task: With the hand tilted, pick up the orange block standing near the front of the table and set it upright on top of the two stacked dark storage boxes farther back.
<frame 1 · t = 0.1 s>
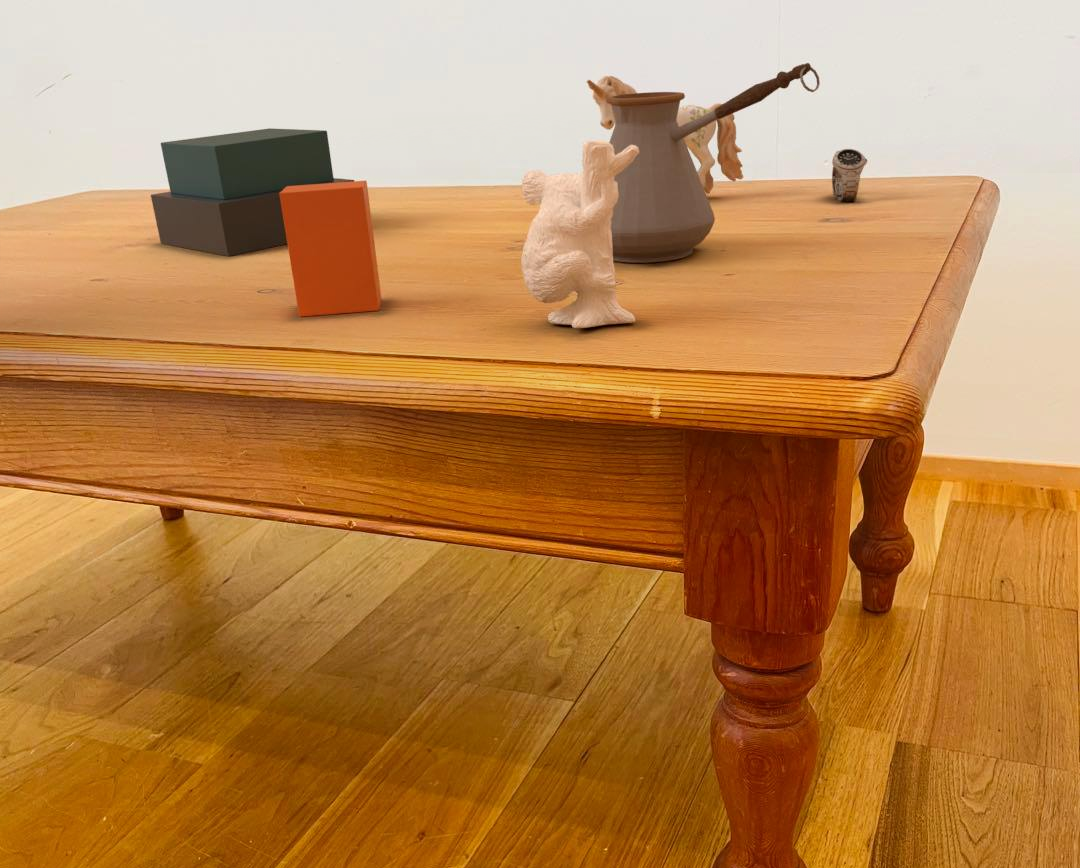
box stack: (260, 235, 115), on the table
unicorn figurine: (665, 209, 115), on the table
wristwatch: (844, 200, 113), on the table
koala figurine: (585, 326, 74), on the table
orange block: (341, 308, 83), on the table
coffee pot: (694, 261, 91), on the table
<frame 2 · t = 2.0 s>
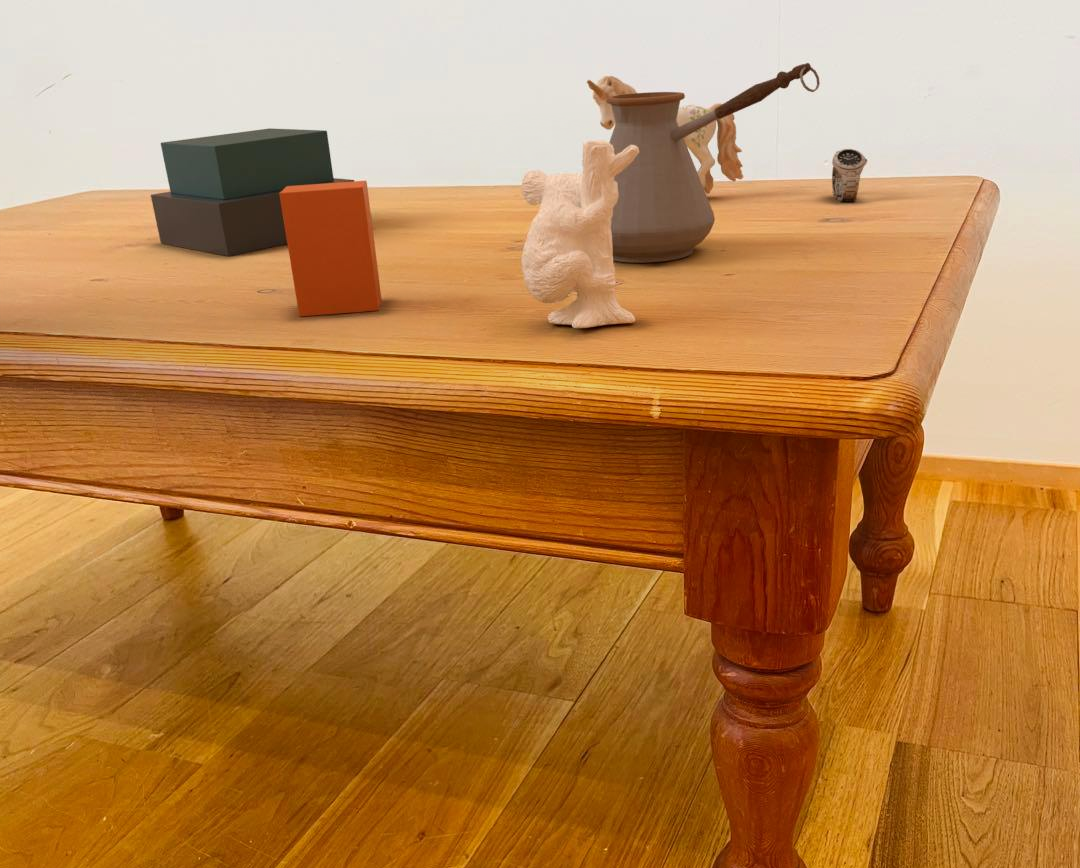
nothing on the table moved.
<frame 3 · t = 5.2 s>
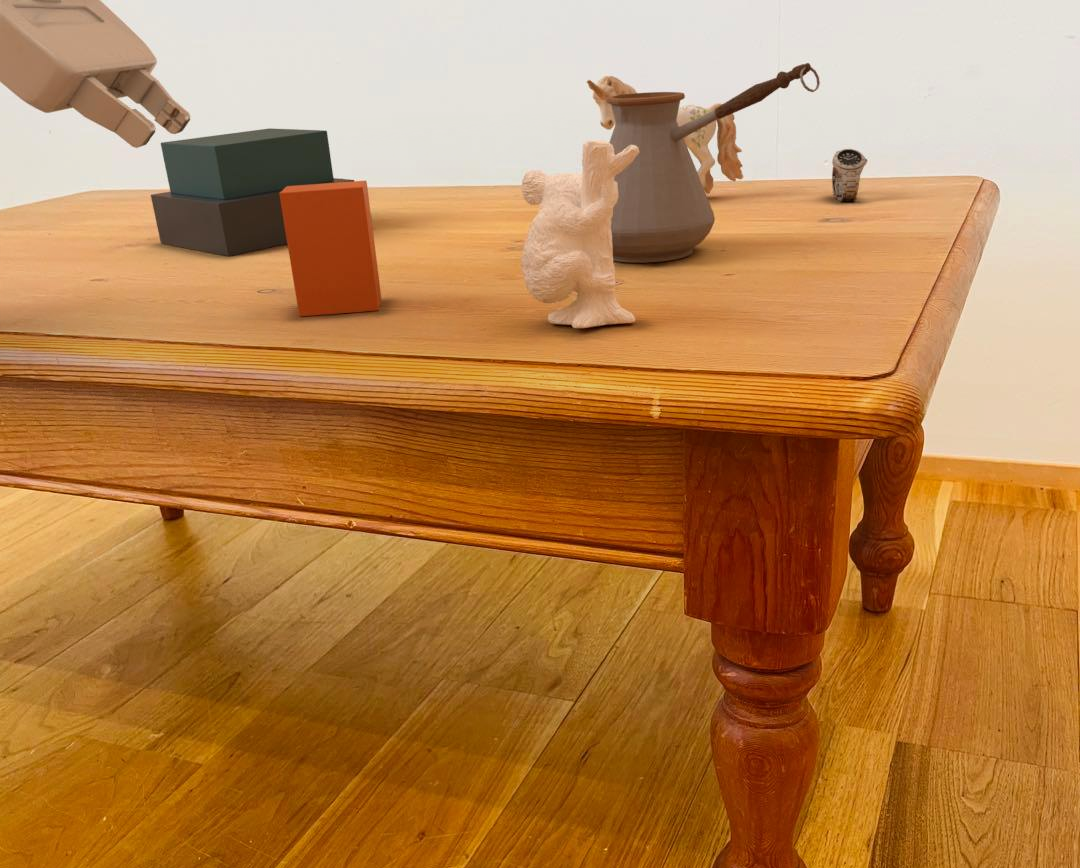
hand: (167, 132, 76), 13 cm above the table, tool tilted 45°, fingers open, 8 cm apart
nothing on the table moved.
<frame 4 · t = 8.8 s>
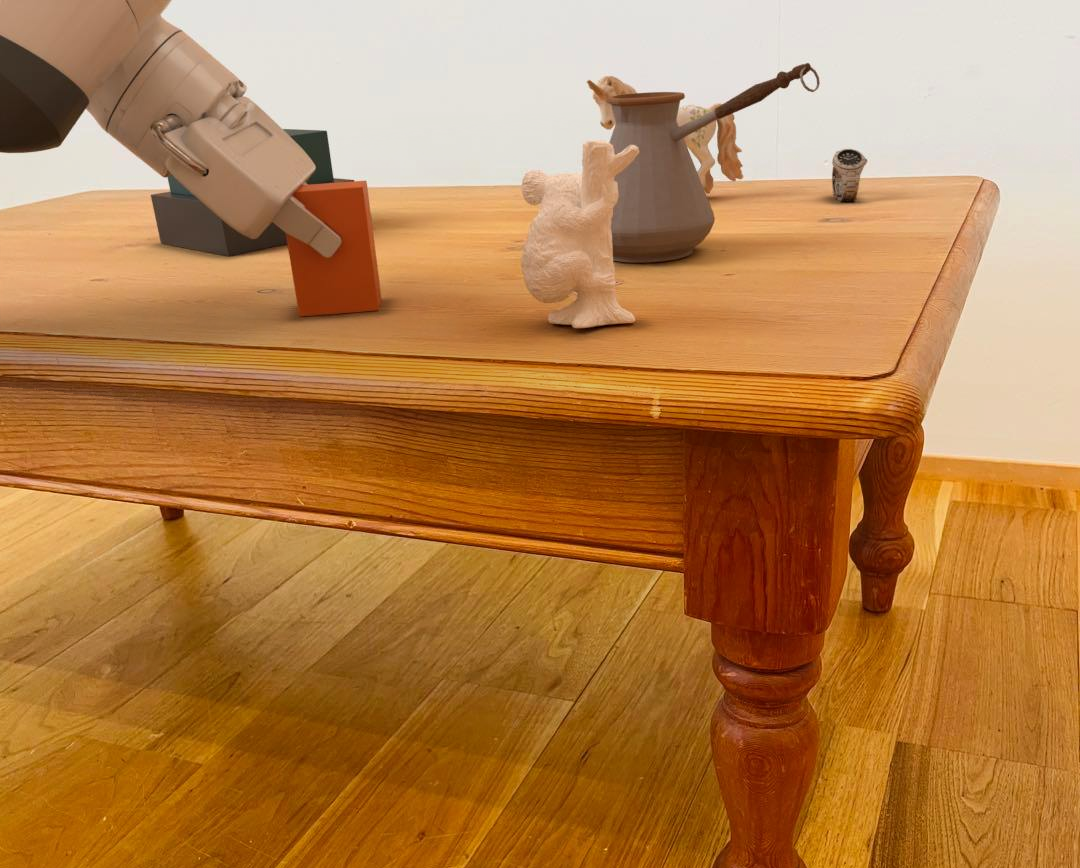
hand: (340, 243, 81), 5 cm above the table, tool tilted 45°, fingers closed on orange block, 3 cm apart
orange block: (341, 308, 83), on the table, touching gripper
everything else where it was.
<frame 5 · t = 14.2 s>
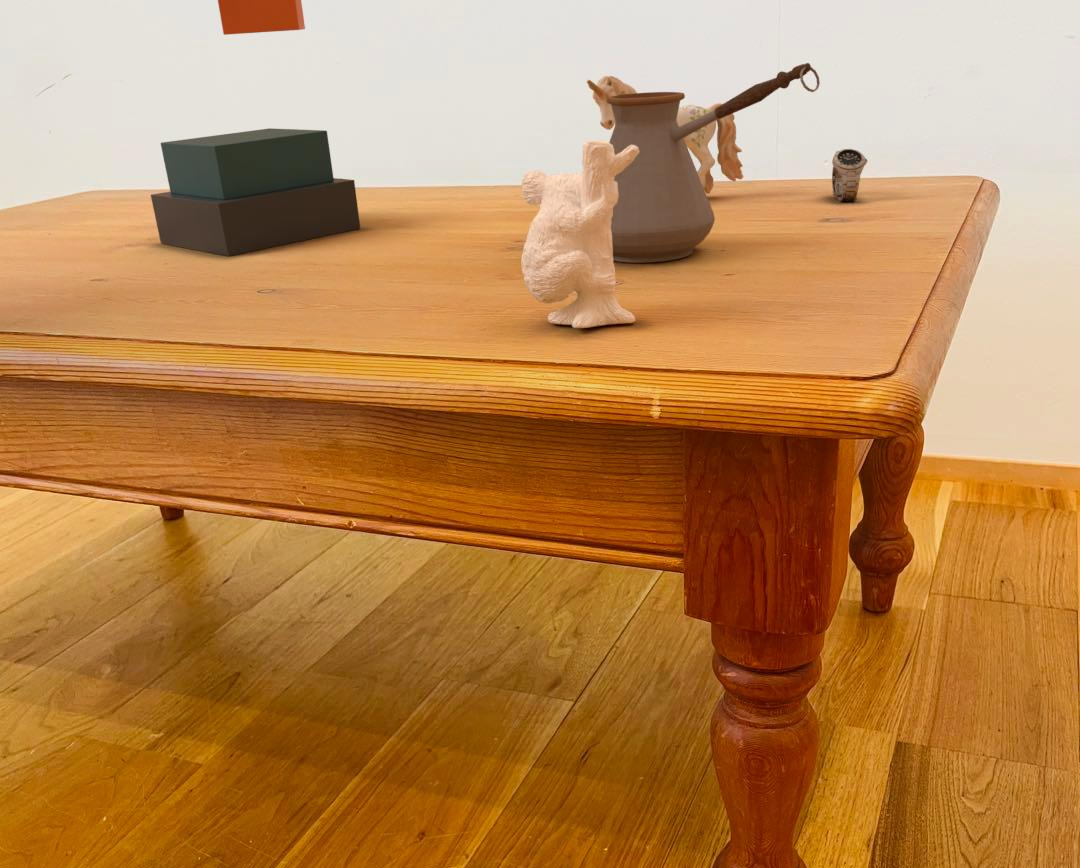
orange block: (265, 31, 87), point 19 cm above the table, touching gripper
everything else where it was.
when the fingers open (15 cm above the table, at t = 20.1 s): orange block stays where it is, resting on box stack.
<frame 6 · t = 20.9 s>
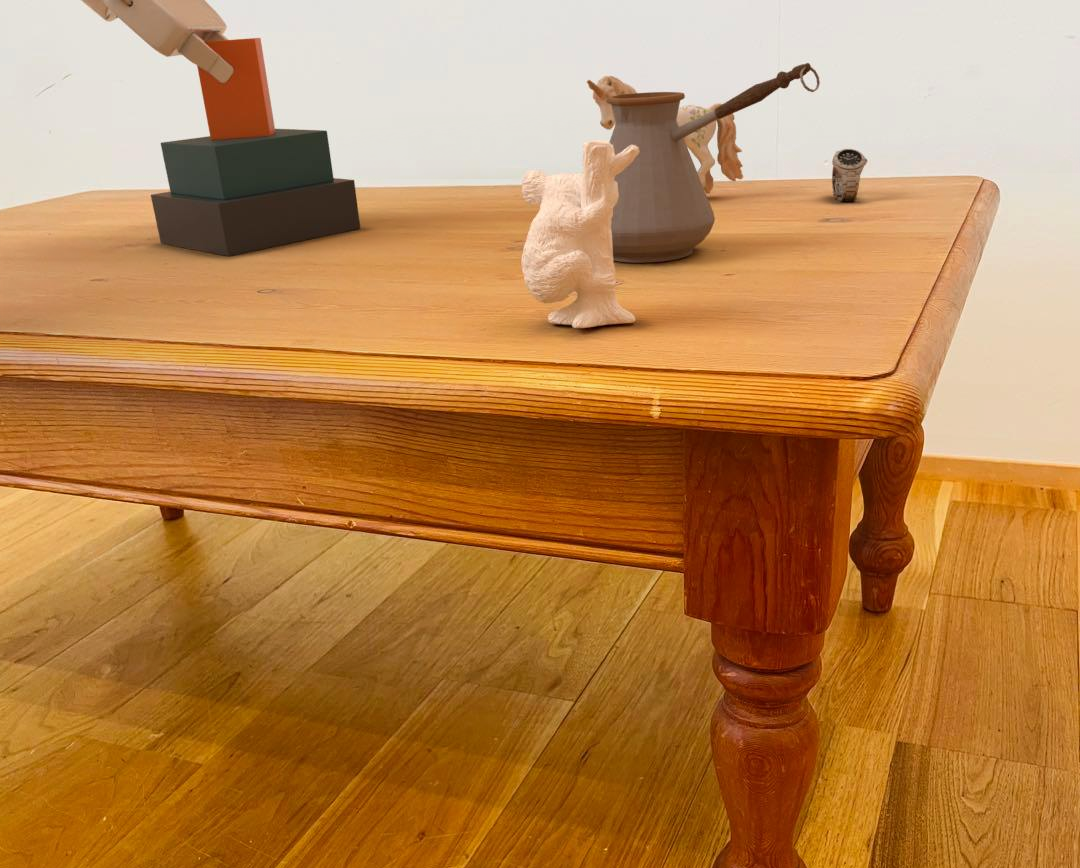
hand: (239, 75, 108), 16 cm above the table, tool tilted 45°, fingers open, 8 cm apart
orange block: (243, 136, 110), point 10 cm above the table, touching box stack
everything else where it was.
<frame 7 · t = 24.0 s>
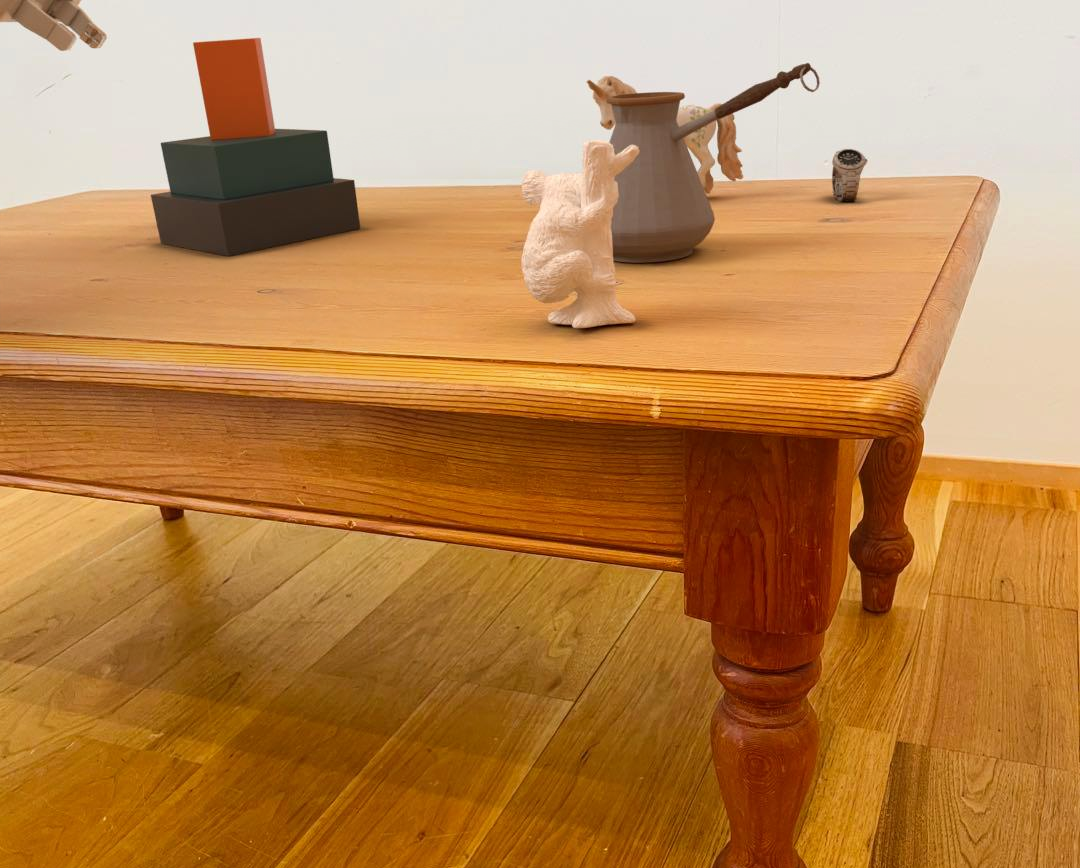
hand: (87, 44, 104), 19 cm above the table, tool tilted 45°, fingers open, 8 cm apart
nothing on the table moved.
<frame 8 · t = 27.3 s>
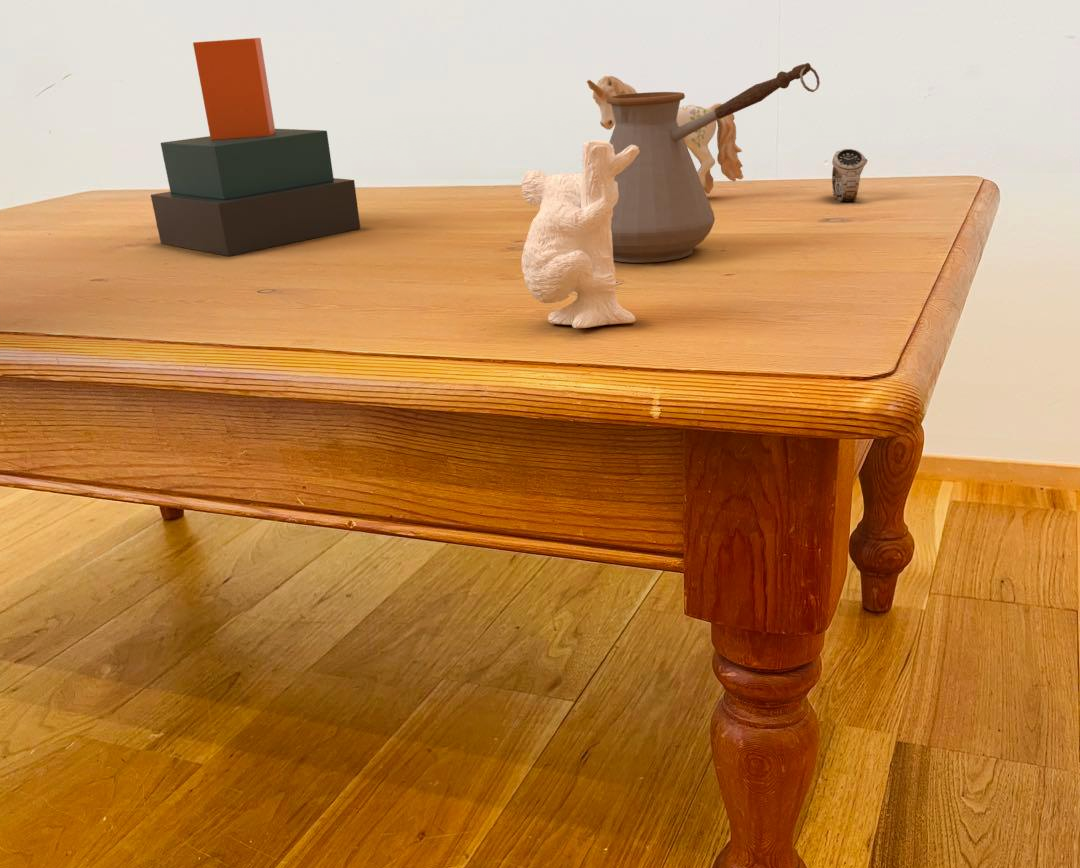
nothing on the table moved.
at the end: orange block inside the target area on the box stack (0.0 cm from its centre), point 10.0 cm above the box stack's base; orange block tilted 0°; the gripper is holding nothing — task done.
